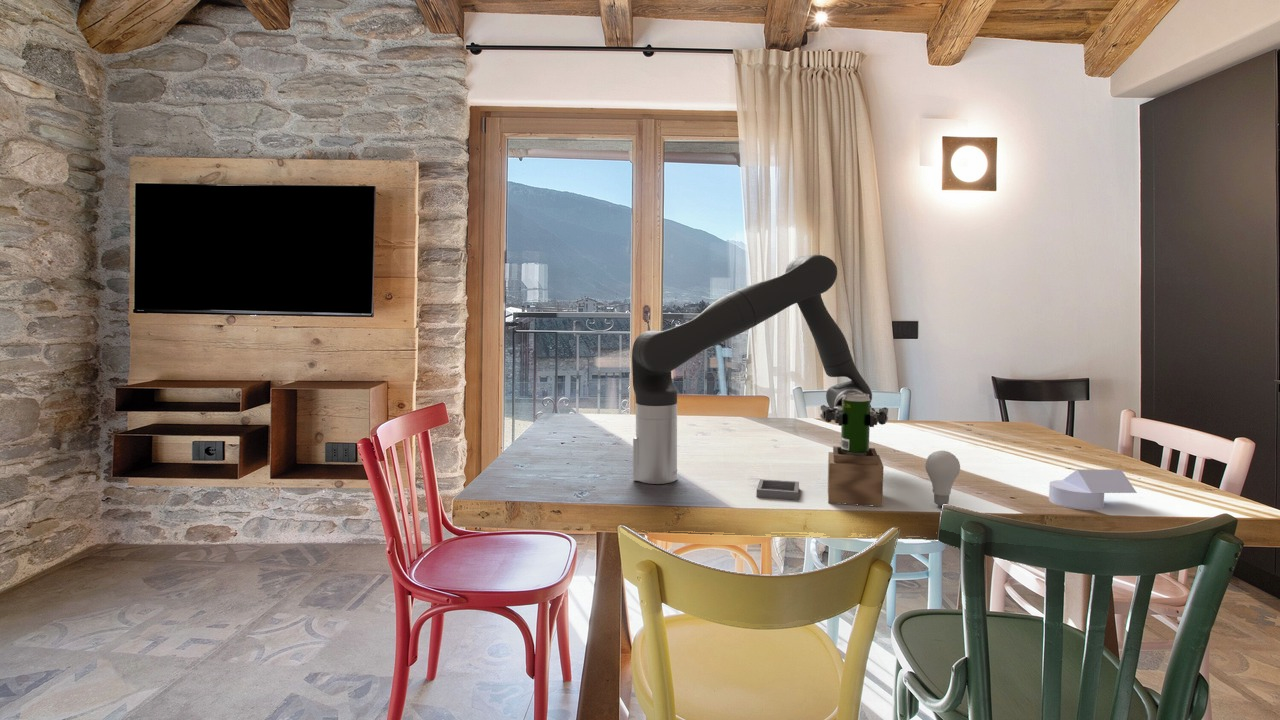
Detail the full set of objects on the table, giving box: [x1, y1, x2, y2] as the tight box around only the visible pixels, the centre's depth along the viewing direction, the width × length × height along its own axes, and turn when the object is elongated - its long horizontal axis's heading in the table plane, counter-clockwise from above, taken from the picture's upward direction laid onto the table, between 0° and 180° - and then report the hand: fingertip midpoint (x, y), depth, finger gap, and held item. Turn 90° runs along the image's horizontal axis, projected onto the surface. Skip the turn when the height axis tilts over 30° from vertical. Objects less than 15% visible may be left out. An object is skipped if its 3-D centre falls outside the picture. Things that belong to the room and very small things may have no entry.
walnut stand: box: [827, 445, 884, 507], centre depth 134 cm, size 10×10×10 cm
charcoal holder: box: [756, 478, 800, 501], centre depth 138 cm, size 8×8×2 cm
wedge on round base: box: [1048, 469, 1138, 511], centre depth 130 cm, size 9×7×13 cm
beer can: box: [840, 393, 871, 456], centre depth 133 cm, size 5×5×12 cm
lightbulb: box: [924, 450, 961, 508], centre depth 128 cm, size 6×6×11 cm
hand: (856, 421), depth 131 cm, fingers closed on beer can, 5 cm apart
